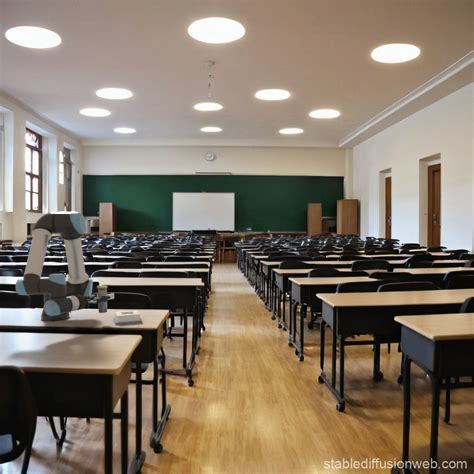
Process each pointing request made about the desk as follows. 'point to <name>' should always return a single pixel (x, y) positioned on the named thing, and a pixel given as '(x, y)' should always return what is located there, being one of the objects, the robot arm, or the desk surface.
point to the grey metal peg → (101, 292)
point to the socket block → (127, 317)
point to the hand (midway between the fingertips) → (110, 295)
